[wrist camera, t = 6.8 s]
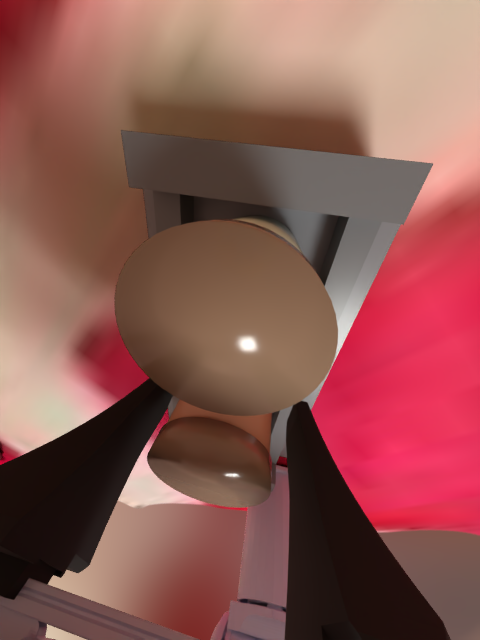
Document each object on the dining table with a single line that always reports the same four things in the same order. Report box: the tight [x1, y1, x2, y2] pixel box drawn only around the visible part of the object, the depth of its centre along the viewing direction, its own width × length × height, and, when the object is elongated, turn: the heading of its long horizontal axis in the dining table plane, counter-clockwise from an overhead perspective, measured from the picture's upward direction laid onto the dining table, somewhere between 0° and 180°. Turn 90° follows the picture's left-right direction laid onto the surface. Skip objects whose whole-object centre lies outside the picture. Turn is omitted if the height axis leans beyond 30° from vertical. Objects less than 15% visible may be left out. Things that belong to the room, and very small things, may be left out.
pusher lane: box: [121, 130, 433, 492], centre depth 13 cm, size 22×12×4 cm, turn 173°
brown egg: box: [114, 215, 338, 416], centre depth 7 cm, size 5×5×7 cm
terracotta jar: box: [147, 399, 272, 507], centre depth 11 cm, size 5×5×7 cm
